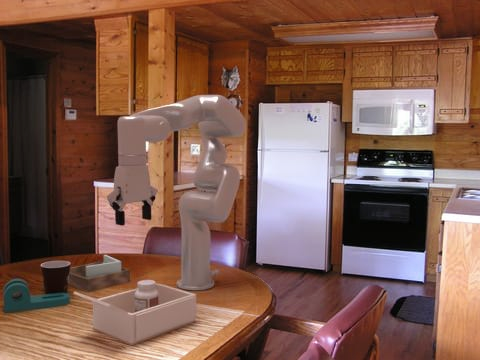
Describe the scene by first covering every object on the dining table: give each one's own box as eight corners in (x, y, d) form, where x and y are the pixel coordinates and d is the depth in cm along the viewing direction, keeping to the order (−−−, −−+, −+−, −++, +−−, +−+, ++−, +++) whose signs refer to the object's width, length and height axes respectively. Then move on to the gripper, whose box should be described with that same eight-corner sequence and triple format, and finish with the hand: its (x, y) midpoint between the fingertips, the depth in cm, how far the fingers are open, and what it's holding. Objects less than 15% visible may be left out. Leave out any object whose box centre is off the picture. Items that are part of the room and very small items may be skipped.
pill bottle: (155, 317, 144) (155, 278, 143) (160, 325, 138) (160, 284, 137) (132, 320, 141) (132, 279, 140) (136, 328, 136) (136, 286, 135)
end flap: (92, 299, 135) (74, 291, 130) (128, 312, 125) (110, 304, 121) (91, 301, 134) (73, 293, 130) (127, 314, 125) (108, 306, 121)
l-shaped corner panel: (105, 275, 187) (105, 254, 187) (121, 283, 178) (121, 261, 177) (72, 281, 180) (72, 259, 179) (87, 289, 170) (87, 266, 170)
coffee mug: (61, 301, 158) (61, 268, 157) (35, 299, 159) (34, 266, 158) (80, 290, 169) (80, 259, 168) (56, 288, 171) (55, 257, 170)
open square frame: (100, 272, 191) (100, 261, 190) (130, 281, 180) (130, 269, 180) (59, 281, 178) (59, 270, 177) (88, 291, 167) (88, 279, 167)
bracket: (4, 313, 147) (3, 286, 146) (3, 306, 153) (2, 280, 152) (71, 305, 155) (71, 279, 154) (68, 298, 161) (67, 273, 160)
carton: (157, 307, 154) (157, 282, 153) (199, 321, 143) (199, 294, 142) (91, 328, 137) (90, 300, 136) (133, 346, 126) (133, 315, 125)
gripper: (146, 158, 155) (147, 216, 157) (98, 162, 141) (100, 225, 143) (164, 159, 150) (165, 219, 152) (116, 164, 137) (118, 229, 139)
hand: (133, 222), depth 148 cm, fingers open, 9 cm apart
